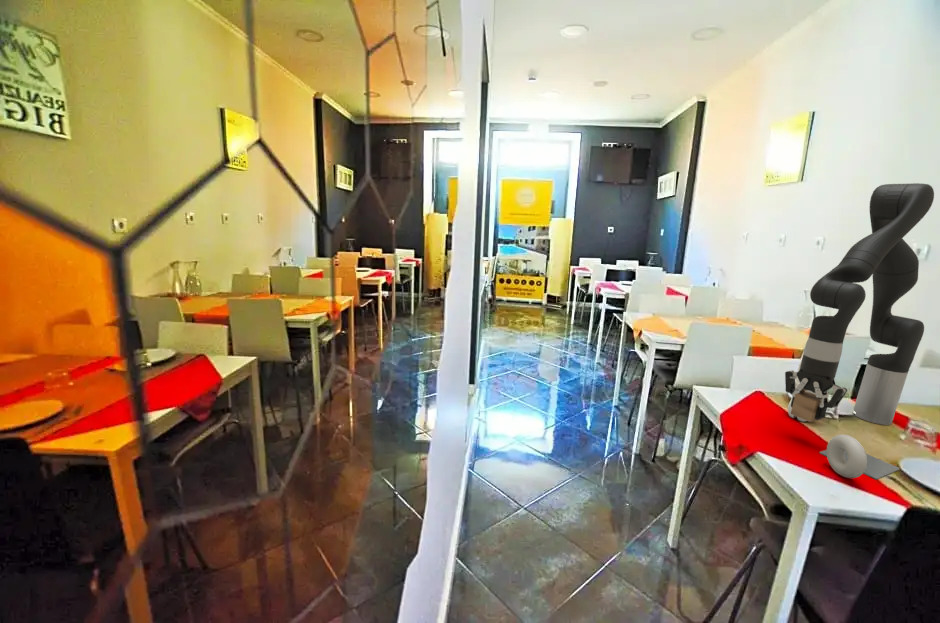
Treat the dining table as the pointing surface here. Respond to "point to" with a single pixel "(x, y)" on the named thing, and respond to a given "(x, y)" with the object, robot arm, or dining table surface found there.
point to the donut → (855, 456)
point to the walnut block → (805, 406)
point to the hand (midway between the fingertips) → (806, 413)
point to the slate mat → (873, 466)
